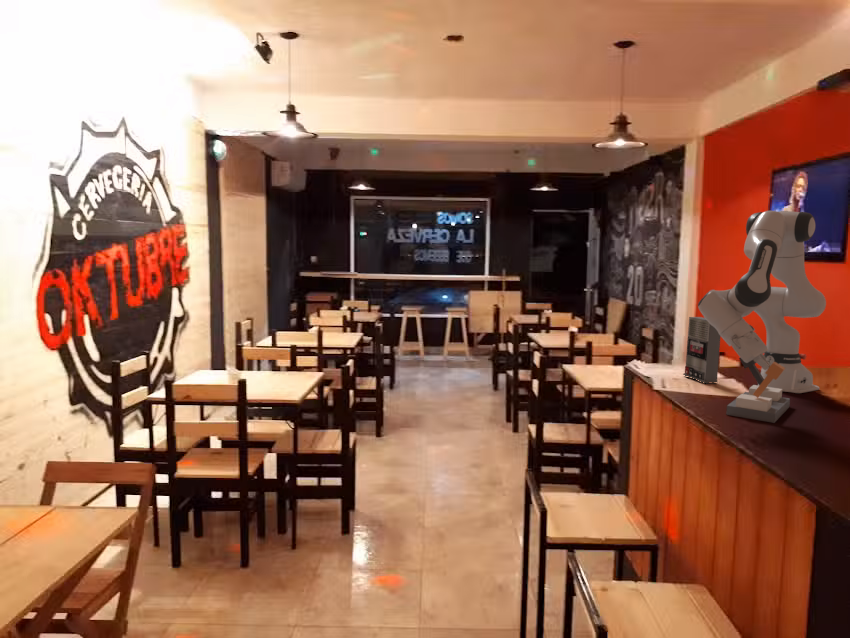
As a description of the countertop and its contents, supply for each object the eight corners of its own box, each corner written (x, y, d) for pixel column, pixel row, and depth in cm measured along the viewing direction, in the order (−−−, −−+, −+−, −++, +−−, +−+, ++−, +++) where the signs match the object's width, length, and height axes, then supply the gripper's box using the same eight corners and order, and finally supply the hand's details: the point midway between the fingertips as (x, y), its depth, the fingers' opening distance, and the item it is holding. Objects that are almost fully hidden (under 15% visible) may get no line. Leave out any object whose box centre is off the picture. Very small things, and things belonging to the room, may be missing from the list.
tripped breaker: (752, 391, 209) (774, 361, 204) (762, 398, 207) (785, 368, 202) (749, 392, 206) (772, 362, 201) (760, 399, 205) (783, 369, 200)
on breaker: (760, 387, 224) (740, 357, 227) (770, 383, 222) (750, 352, 225) (758, 389, 221) (738, 358, 224) (768, 384, 219) (748, 353, 222)
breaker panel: (744, 400, 229) (746, 383, 228) (789, 407, 221) (790, 389, 220) (726, 414, 209) (727, 396, 208) (774, 422, 200) (776, 404, 200)
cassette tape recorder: (682, 376, 268) (687, 317, 265) (695, 376, 269) (700, 316, 266) (703, 384, 254) (708, 321, 251) (717, 383, 256) (722, 321, 252)
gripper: (737, 330, 199) (769, 366, 194) (752, 325, 215) (782, 358, 210) (721, 343, 202) (752, 378, 197) (737, 336, 218) (766, 369, 213)
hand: (768, 368), depth 204 cm, fingers closed, pressing on tripped breaker
